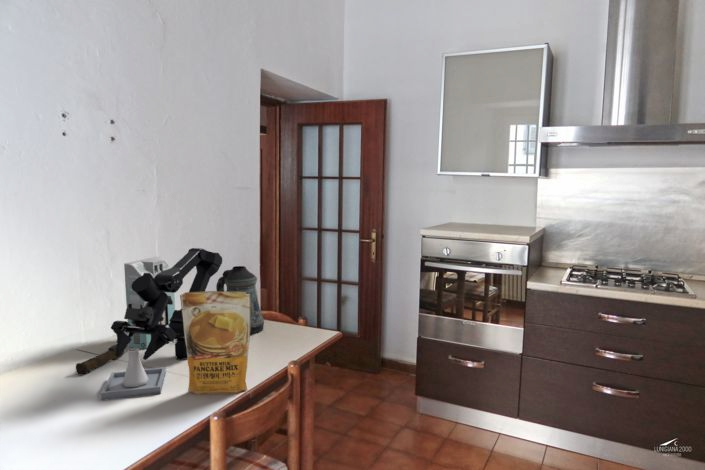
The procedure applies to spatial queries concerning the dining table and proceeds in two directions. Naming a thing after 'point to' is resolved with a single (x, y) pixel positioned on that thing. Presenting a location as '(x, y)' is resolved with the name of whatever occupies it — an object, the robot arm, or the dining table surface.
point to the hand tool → (97, 361)
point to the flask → (134, 370)
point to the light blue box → (134, 301)
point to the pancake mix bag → (217, 340)
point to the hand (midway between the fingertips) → (130, 357)
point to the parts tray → (117, 390)
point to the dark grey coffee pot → (246, 282)
